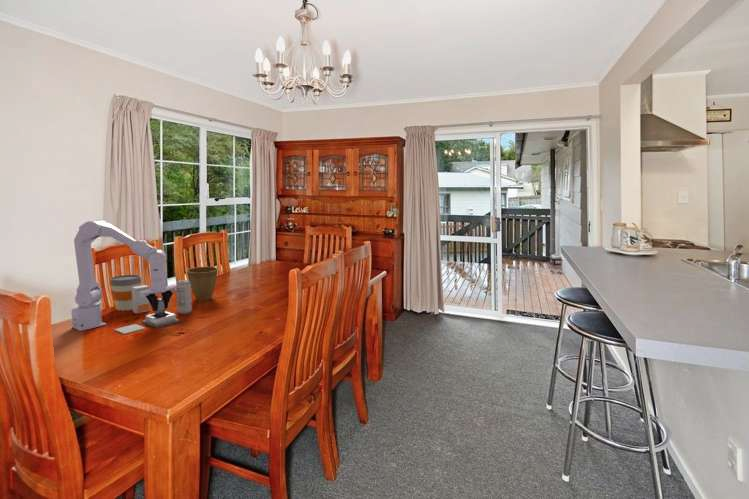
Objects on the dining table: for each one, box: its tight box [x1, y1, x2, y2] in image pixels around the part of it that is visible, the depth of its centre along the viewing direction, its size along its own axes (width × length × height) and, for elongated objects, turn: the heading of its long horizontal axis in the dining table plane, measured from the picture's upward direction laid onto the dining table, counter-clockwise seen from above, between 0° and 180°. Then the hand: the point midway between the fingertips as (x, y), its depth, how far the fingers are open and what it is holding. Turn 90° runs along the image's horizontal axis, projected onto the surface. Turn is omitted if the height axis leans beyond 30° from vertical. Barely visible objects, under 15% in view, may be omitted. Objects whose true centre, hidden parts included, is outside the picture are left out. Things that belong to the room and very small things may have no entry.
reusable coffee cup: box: [109, 274, 142, 312], centre depth 184 cm, size 13×12×15 cm
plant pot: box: [186, 266, 219, 302], centre depth 203 cm, size 15×15×16 cm
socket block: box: [141, 310, 181, 329], centre depth 166 cm, size 10×12×3 cm
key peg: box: [154, 297, 166, 318], centre depth 165 cm, size 4×4×8 cm
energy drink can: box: [175, 279, 193, 315], centre depth 180 cm, size 6×6×15 cm
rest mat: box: [114, 323, 146, 335], centre depth 157 cm, size 8×8×1 cm
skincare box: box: [132, 284, 151, 314], centre depth 180 cm, size 6×4×12 cm
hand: (160, 309), depth 165 cm, fingers closed on key peg, 4 cm apart
